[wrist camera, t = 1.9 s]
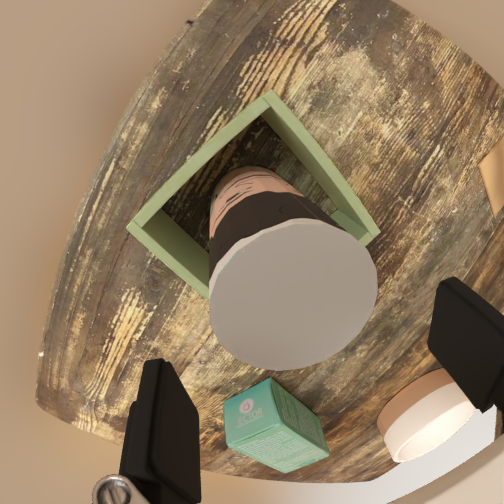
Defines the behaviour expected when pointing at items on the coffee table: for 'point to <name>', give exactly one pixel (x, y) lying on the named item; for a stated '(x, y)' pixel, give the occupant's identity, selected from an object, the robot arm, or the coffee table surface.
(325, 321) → the grey printed cylinder
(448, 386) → the bowl
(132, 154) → the coffee table surface
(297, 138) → the crate
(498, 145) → the coaster
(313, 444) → the box
